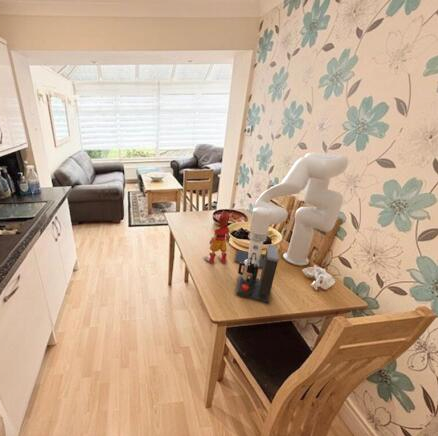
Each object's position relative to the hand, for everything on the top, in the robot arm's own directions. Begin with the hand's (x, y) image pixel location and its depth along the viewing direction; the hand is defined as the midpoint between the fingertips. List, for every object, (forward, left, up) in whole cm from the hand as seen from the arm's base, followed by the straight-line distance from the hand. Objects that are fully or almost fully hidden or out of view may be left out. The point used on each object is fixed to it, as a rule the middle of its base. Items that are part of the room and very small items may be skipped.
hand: (250, 268), depth 113 cm
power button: (+8, -1, -7) cm, 11 cm away
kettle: (+1, -1, -6) cm, 6 cm away
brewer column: (+2, +3, -6) cm, 7 cm away
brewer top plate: (-24, 0, -9) cm, 26 cm away
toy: (-15, -17, -10) cm, 25 cm away
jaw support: (-14, +32, -10) cm, 36 cm away
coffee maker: (+3, +3, -9) cm, 10 cm away
